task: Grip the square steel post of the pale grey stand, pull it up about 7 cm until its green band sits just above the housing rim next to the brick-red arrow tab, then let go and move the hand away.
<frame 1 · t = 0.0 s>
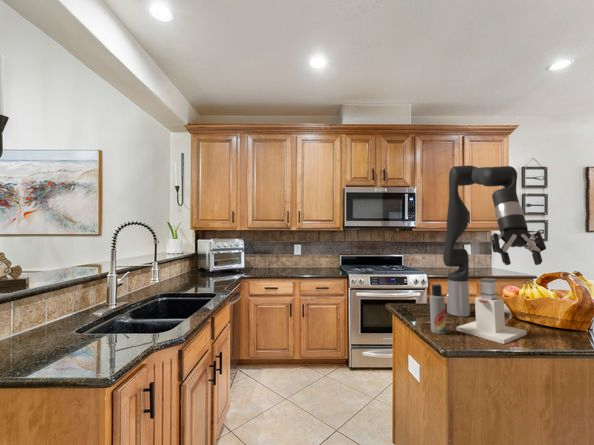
hand: (523, 264, 90), 31 cm above the countertop, tool tilted 20°, fingers open, 8 cm apart
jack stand: (490, 332, 118), on the countertop
lotion bottle: (438, 332, 120), on the countertop
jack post: (489, 303, 119), point 12 cm above the countertop, slide at 0.0 cm
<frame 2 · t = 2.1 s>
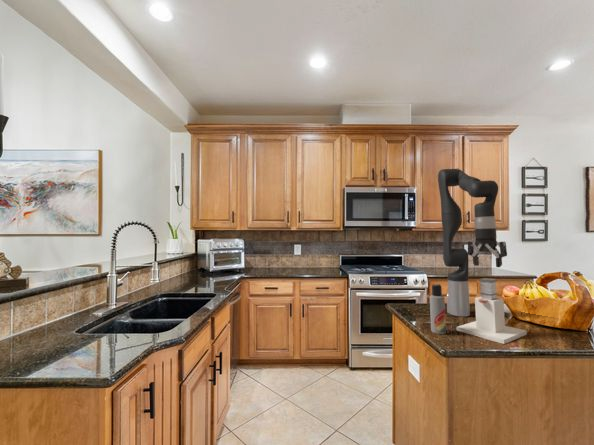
hand: (487, 266, 120), 27 cm above the countertop, tool pointing down, fingers open, 8 cm apart
nothing on the countertop moved.
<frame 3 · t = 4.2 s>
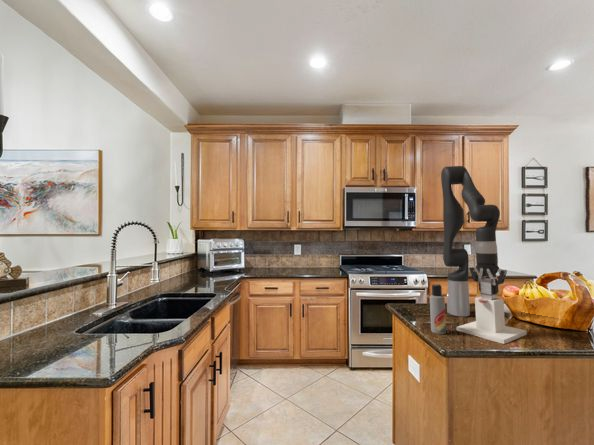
hand: (488, 292, 119), 16 cm above the countertop, tool pointing down, fingers closed on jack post, 4 cm apart
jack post: (489, 303, 119), point 12 cm above the countertop, slide at 0.0 cm, touching gripper
everything else where it was.
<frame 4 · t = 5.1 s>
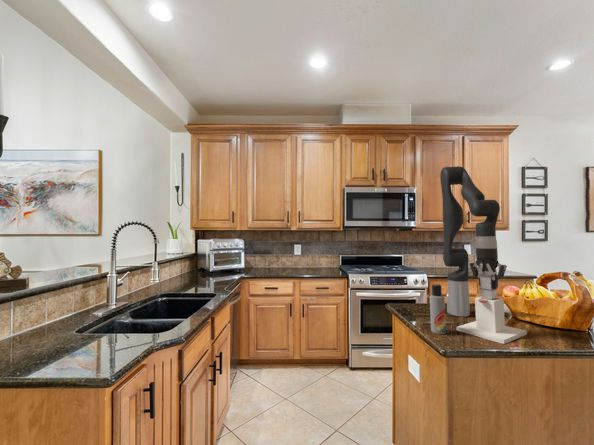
hand: (488, 287, 119), 18 cm above the countertop, tool pointing down, fingers closed on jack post, 4 cm apart
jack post: (488, 298, 119), point 14 cm above the countertop, slide at 2.0 cm, touching gripper
everything else where it was.
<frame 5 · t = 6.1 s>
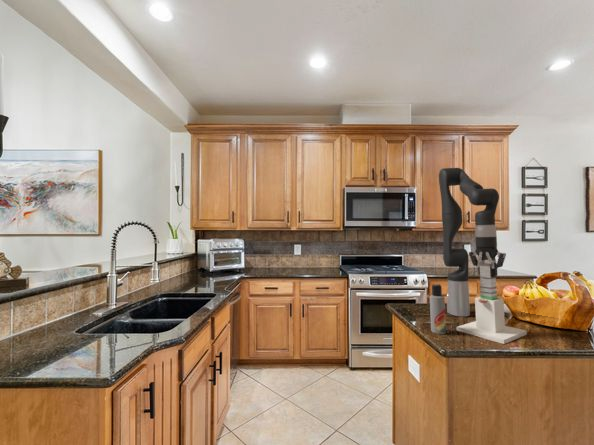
hand: (487, 276, 119), 23 cm above the countertop, tool pointing down, fingers closed on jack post, 4 cm apart
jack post: (488, 287, 119), point 19 cm above the countertop, slide at 6.7 cm, touching gripper
everything else where it was.
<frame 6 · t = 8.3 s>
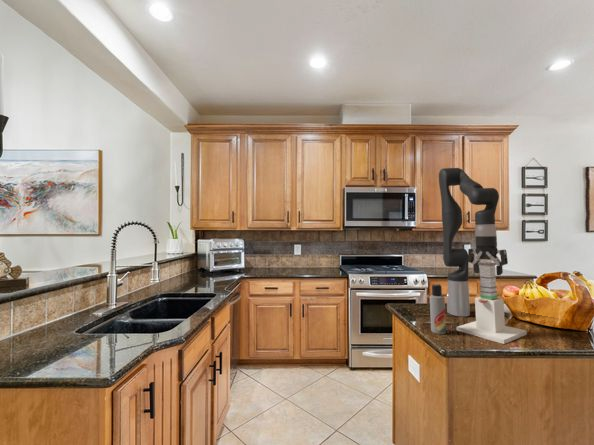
hand: (487, 274, 119), 24 cm above the countertop, tool pointing down, fingers open, 8 cm apart
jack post: (488, 286, 119), point 19 cm above the countertop, slide at 6.9 cm
everything else where it was.
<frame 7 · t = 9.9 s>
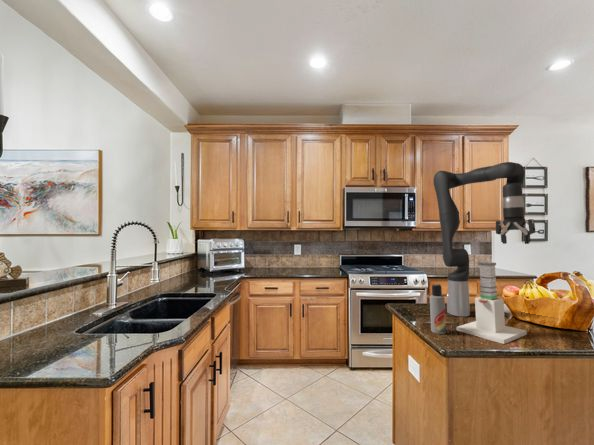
hand: (515, 243, 126), 36 cm above the countertop, tool pointing down, fingers open, 8 cm apart
nothing on the countertop moved.
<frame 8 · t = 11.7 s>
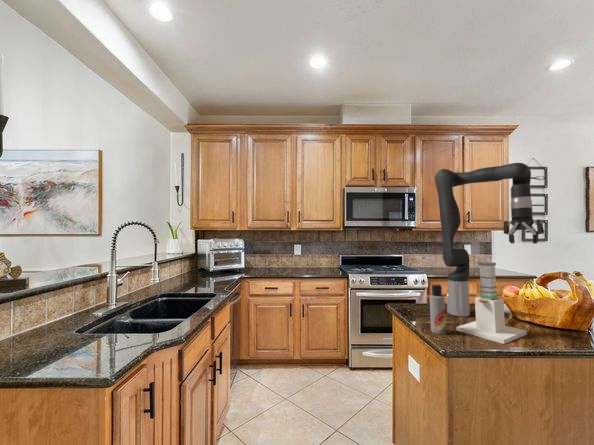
hand: (523, 243, 128), 36 cm above the countertop, tool pointing down, fingers open, 8 cm apart
nothing on the countertop moved.
at the end: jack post slide at 6.9 cm; the gripper is holding nothing; lotion bottle moved 0.2 cm from its start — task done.
